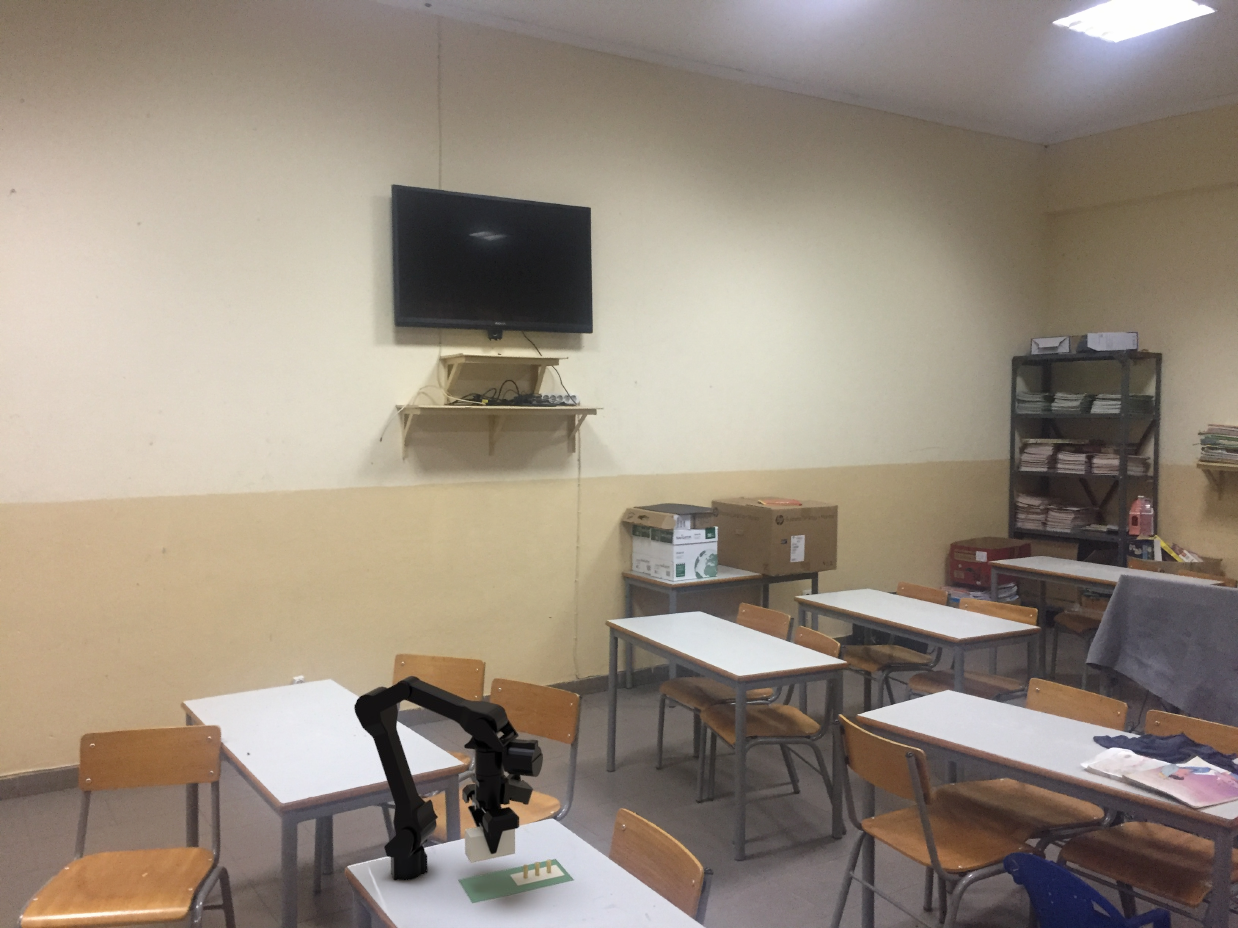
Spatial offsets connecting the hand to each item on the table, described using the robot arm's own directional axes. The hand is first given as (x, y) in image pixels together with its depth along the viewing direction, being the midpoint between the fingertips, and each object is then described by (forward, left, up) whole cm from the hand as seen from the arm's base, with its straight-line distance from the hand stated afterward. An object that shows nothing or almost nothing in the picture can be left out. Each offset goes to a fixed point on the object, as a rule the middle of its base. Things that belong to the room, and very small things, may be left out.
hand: (490, 848), depth 182 cm
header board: (+5, 0, -8) cm, 10 cm away
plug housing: (0, 0, -1) cm, 1 cm away
